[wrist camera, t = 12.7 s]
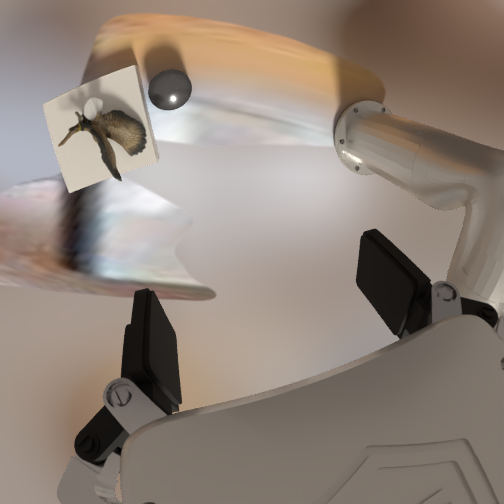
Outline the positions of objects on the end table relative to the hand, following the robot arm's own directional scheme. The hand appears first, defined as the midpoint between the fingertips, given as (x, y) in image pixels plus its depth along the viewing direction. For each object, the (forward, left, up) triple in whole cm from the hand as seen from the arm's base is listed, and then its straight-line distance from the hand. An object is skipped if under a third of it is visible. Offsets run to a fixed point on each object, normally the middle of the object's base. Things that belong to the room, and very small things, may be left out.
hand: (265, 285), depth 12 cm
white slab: (+13, -7, -28) cm, 32 cm away
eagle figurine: (+11, -6, -26) cm, 28 cm away
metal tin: (+3, -9, -28) cm, 30 cm away
